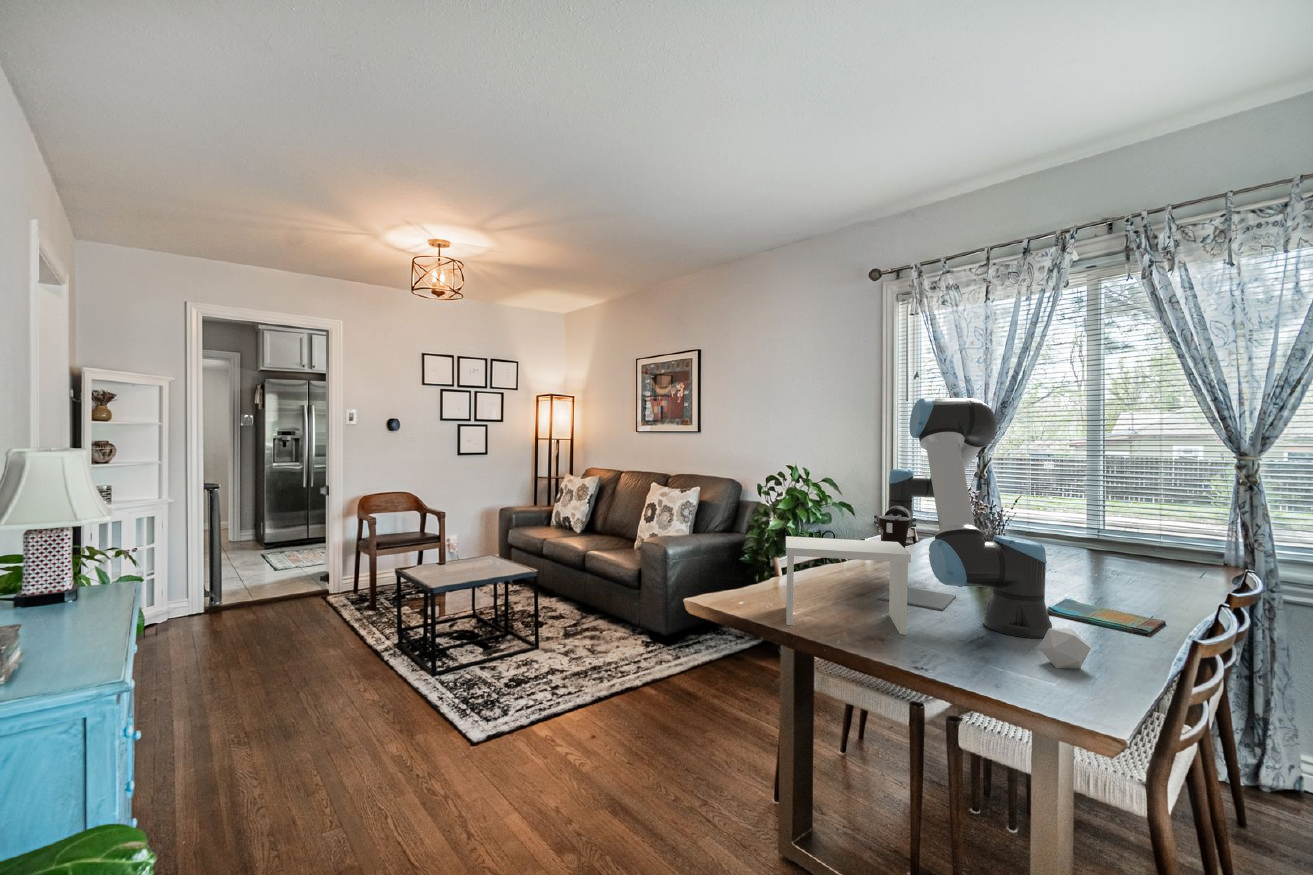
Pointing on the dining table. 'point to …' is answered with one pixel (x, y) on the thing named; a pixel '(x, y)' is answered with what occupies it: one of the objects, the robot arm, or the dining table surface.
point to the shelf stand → (859, 552)
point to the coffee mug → (894, 529)
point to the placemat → (924, 598)
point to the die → (1064, 648)
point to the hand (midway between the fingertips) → (889, 527)
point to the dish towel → (1106, 617)
